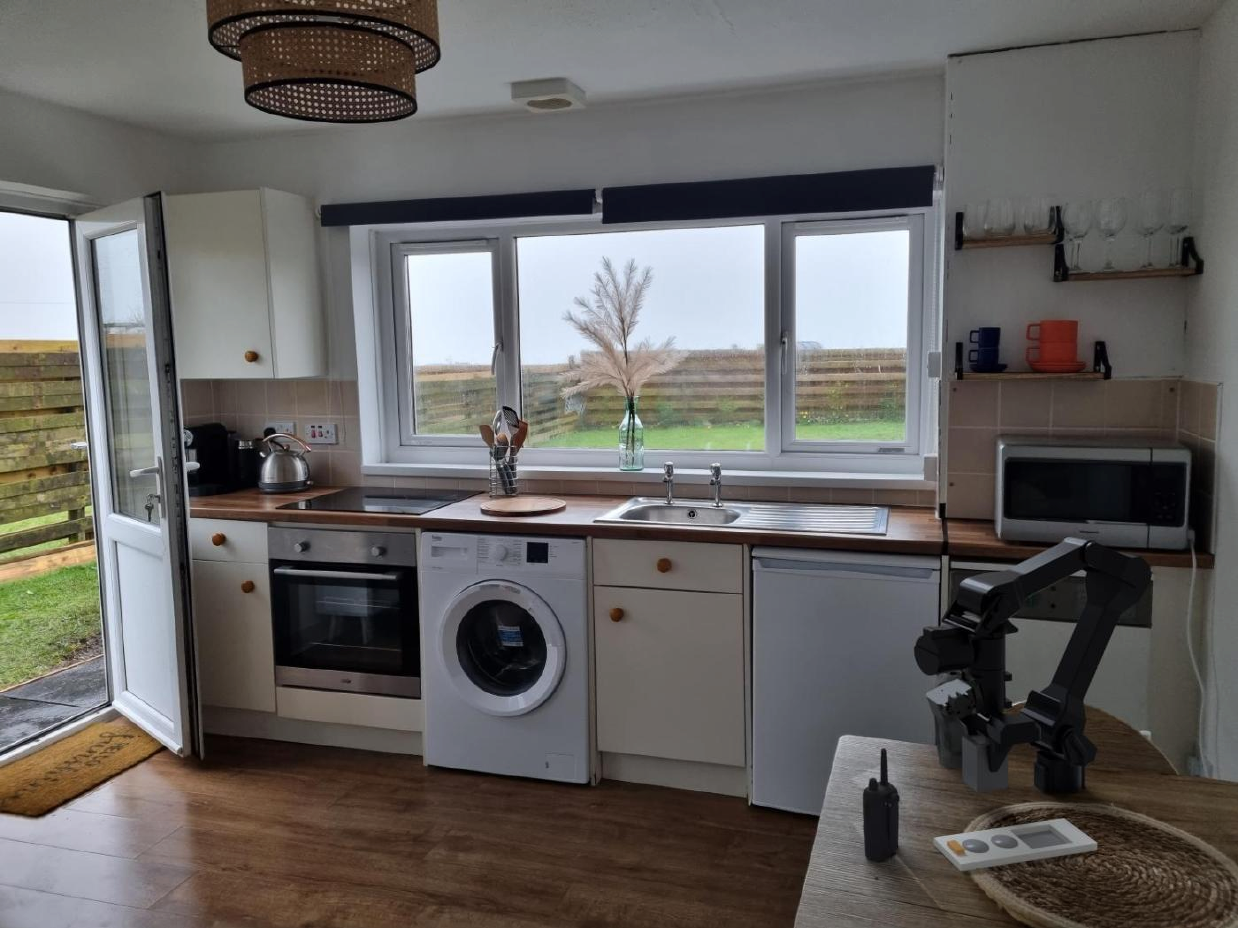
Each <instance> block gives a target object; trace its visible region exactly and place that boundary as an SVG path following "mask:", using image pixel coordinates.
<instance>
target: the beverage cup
mask: <svg viewBox="0 0 1238 928" xmlns="http://www.w3.org/2000/svg"><path fill="white" fill-rule="evenodd" d="M956 677H957V671H954V672H948V673H943V674H938V675H936V677H935V678H934V679H933V681H932V683H931V686H930V687H931V688H930V691H931V690H933V689H935V688H936V687H937V686H938V685H939V684H940V682H947V681H954V680H956ZM933 719H934V721H933V722H934V730H935V739H936V740H935V741H936V753H937V757H938V762H939V764H940V765H942V766H944V767H947V768H951V769H952V768H953V769H962V736H966V734H965V731H964V729H963V726H962V724H961V722H960V721H959V720H958V719H957V718H956V719H955V720H954V721H952V722H949V723H946V722H943V721H942V720H941V719H940V718H939V717H937V716H936V715H934V714H933Z"/></svg>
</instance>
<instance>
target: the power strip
mask: <svg viewBox="0 0 1238 928" xmlns="http://www.w3.org/2000/svg"><path fill="white" fill-rule="evenodd" d="M933 845H934V846H935V847H936V849H937V850H939V851H940V852H941V853H942V854H943V855H944V856H945V858H947V859H948V860H949V861H950V863H952V864H953V865H954V867H956V868H957V869H958V870H959V872H966V871H973V870H977V869H976V868H979V869H985V868H991V867H997V866H1005V865H1010V864H1017V863H1023V862H1028V861H1036V860H1041V859H1048V858H1055V857H1061V856H1068V855H1075V854H1079V853H1087V852H1093V851H1098V842H1097V841H1095V839H1092V837H1090V836H1088V835H1087V834H1086V833H1085V832H1083V831H1082V830H1080V829H1079V828H1078V827H1077V826H1076V825H1074V824H1072V823H1071V822H1069V820H1067V819H1066V818H1064V817H1063V818H1056V819H1049V820H1044V821H1035V822H1030V823H1022V824H1016V825H1010V826H1003V827H997V828H996V827H995V828H990V829H984V830H976V831H969V832H961V833H957V834H956V833H955V834H949V835H941V836H938V837H937V836H936V837H933Z"/></svg>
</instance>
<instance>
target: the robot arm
mask: <svg viewBox="0 0 1238 928" xmlns="http://www.w3.org/2000/svg"><path fill="white" fill-rule="evenodd" d="M1149 565H1150V564H1148V562H1147V560H1146V559H1145V558H1144V557H1141V556H1136V555H1133V554H1128V553H1125V552H1119V551H1115V550H1114V549H1110V548H1109V547H1107V546H1104V545H1103V544H1101V543H1098V542H1097V541H1096V540H1094V539H1089V538H1084V537H1080V536H1076V535H1075V536H1074V535H1073V536H1068V537H1065V538H1064V539H1063V540H1062V541H1061V542H1059V543H1058V544H1057V545H1054V546H1052V547H1050V548H1048V549H1046V550H1044V551H1042V552H1040V553H1038V554H1036V555H1034V556H1032V557H1031V558H1029V559H1026V560H1024V561H1022V562H1020V563H1018V564H1016V565H1015V566H1012V567H1010V568H1008V569H1005V570H1002V571H1001V570H1000V571H992V572H990V571H989V572H984V573H980V574H977V575H973V576H969V577H966V578H965V579H964V580H962V581H961V582H960V583H959V584H958V590H957V592H956V593H955V595H954V597H953V599H952V601H951V602H950V604H949V606H948V607H947V609H946V611H945V613H944V614H943V616H942V618H941V619H940V620H941V623H942V624H944V625H938V626H930V625H929V626H923V628H922V632H923V633H922V635H920V636H918V638H917V640H916V641H915V645H914V646H913V654H914V655H913V656H914V658H915V661H916V664H917V666H918V668H919V670H920V671H921V673H923V674H924V675H926V676H929V677H930V676H931V677H933V676H938V675H939V674H943V673H948V672H954V671H956V672H957V677H956V680H954V681H947V682H940V684H939V685H938V686H937V687H936V688H935V689H933V690H931V689H930V690H929V691H927V693H926V694H925V696H926V699H927V700H926V701H927V702H928V705H929V708H930V710H931V712H932V715H933V716H934V715H936V716H937V717H939V718H940V719H941V720H942V721H943V722H946V723H949V722H952V721H954V720H955V719H956V718H957V719H958V720H959V721H960V722H961V724H962V726H963V729H964V731H965V734H966V736H968V735H975V734H980V735H981V736H982V737H983V738H985V740H986V748H987V757H988V765H989V770H990V772H992V773H993V772H997V771H998V770H999V768H1000V767H1001V765H1002V763H1003V761H1004V760H1005V758H1006V756H1007V754H1008V755H1009V752H1010V751H1011V749H1012V747H1014V745H1020V744H1021V745H1022V744H1028V746H1030V747H1032V748H1034V749H1036V750H1037V751H1036V761H1035V762H1034V764H1033V786H1034V787H1036V788H1037V789H1038V790H1040V791H1041V792H1043V793H1046V794H1047V793H1048V794H1053V793H1054V794H1060V795H1075V794H1078V793H1080V792H1081V790H1082V789H1085V788H1086V767H1087V766H1088V764H1089V763H1094V761H1095V760H1096V756H1097V753H1098V747H1097V746H1096V745H1095V744H1094V743H1093V742H1092V741H1091V740H1090V739H1089V738H1088V737H1087V736H1086V735H1085V734H1084V733H1085V732H1084V731H1085V729H1086V724H1087V716H1086V715H1087V714H1086V709H1085V702H1084V701H1085V697H1086V694H1087V693H1088V691H1089V688H1090V686H1091V684H1092V682H1093V679H1094V677H1095V674H1096V671H1097V670H1098V668H1099V665H1100V663H1101V660H1102V658H1103V656H1104V653H1105V652H1106V650H1107V647H1108V644H1109V642H1110V641H1111V637H1112V635H1113V633H1114V632H1115V628H1116V626H1117V623H1118V622H1119V619H1120V617H1121V615H1122V614H1123V613H1125V612H1126V611H1127V610H1129V609H1130V608H1131V607H1133V606H1135V605H1136V604H1137V603H1139V601H1140V600H1141V599H1142V597H1143V595H1144V594H1145V591H1146V590H1147V589H1148V587H1149V585H1150V583H1151V580H1152V574H1153V573H1152V571H1151V569H1150V566H1149ZM1079 571H1083V572H1085V575H1084V576H1085V577H1084V580H1083V583H1084V584H1083V585H1084V590H1085V597H1086V602H1085V604H1084V606H1083V609H1082V610H1081V613H1080V615H1079V617H1078V620H1077V622H1076V625H1075V627H1074V629H1073V631H1072V633H1071V636H1070V638H1069V641H1068V643H1067V645H1066V647H1065V650H1064V652H1063V655H1062V656H1061V658H1060V661H1059V663H1058V666H1057V668H1056V669H1055V672H1054V675H1053V677H1052V679H1051V681H1050V683H1049V685H1048V686H1046V687H1045V688H1044V689H1042V690H1040V691H1037V690H1035V689H1032V690H1030V691H1029V692H1028V694H1027V698H1026V701H1025V704H1024V706H1023V707H1022V708H1021V710H1019V712H1012V713H1005V712H1004V711H1005V710H1006V709H1008V710H1009V709H1012V708H1013V701H1012V700H1011V699H1009V698H1007V687H1006V686H1007V682H1012V681H1013V673H1011V672H1009V671H1007V669H1006V668H1007V667H1006V665H1007V664H1006V663H1007V659H1006V658H1007V656H1006V655H1007V654H1006V653H1007V651H1006V650H1007V649H1006V646H1007V645H1006V644H1007V643H1006V642H1007V641H1006V640H1007V639H1006V636H1007V635H1011V634H1016V633H1019V630H1020V629H1019V628H1018V627H1017V626H1016V625H1015V624H1013V623H1012V622H1011V621H1010V620H1009V619H1011V618H1012V617H1013V616H1014V615H1016V614H1017V613H1018V612H1019V611H1020V610H1021V609H1022V607H1023V605H1024V602H1025V601H1026V600H1027V599H1028V598H1030V597H1031V596H1033V595H1035V594H1038V593H1039V592H1041V591H1043V590H1045V589H1047V588H1048V587H1050V586H1053V585H1055V584H1056V583H1059V582H1060V581H1063V580H1064V579H1067V578H1069V576H1070V577H1071V576H1072V575H1074V574H1076V573H1077V572H1079ZM964 615H967V616H970V617H971V618H975V619H978V620H979V621H975V620H972V619H971V618H968V617H965V616H964Z"/></svg>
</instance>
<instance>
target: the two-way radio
mask: <svg viewBox="0 0 1238 928" xmlns="http://www.w3.org/2000/svg"><path fill="white" fill-rule="evenodd" d="M879 765H880V766H879V767H880V773H879V774H880V775H879V777H880V780H879V781H877V780H878V779H877V778H875V777H870V778H869V781H868V786H867V787H865V788H864V789H863V792H862V815H863V816H862V817H863V819H862V820H863V828H862V829H863V841H864V856H865V857H866V858H868V859H869V860H871V861H874V862H875V861H876V862H882V861H886V860H889V859H891V858H892V857H894V856H896V855H897V853H896V851H897V850H898V849H899V828H900V827H899V824H900V823H899V820H900V819H899V818H900V817H899V816H900V815H899V814H900V808H899V807H900V806H899V805H900V804H899V803H900V800H901V796H900V795H899V793H898V789H897V787H896V786H895V785H894V784H893V783H890V782H889V774H888V769H889V768H888V767H889V766H888V752H887V749H886V748H884V747H883V748H881V749H880V763H879Z"/></svg>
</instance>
